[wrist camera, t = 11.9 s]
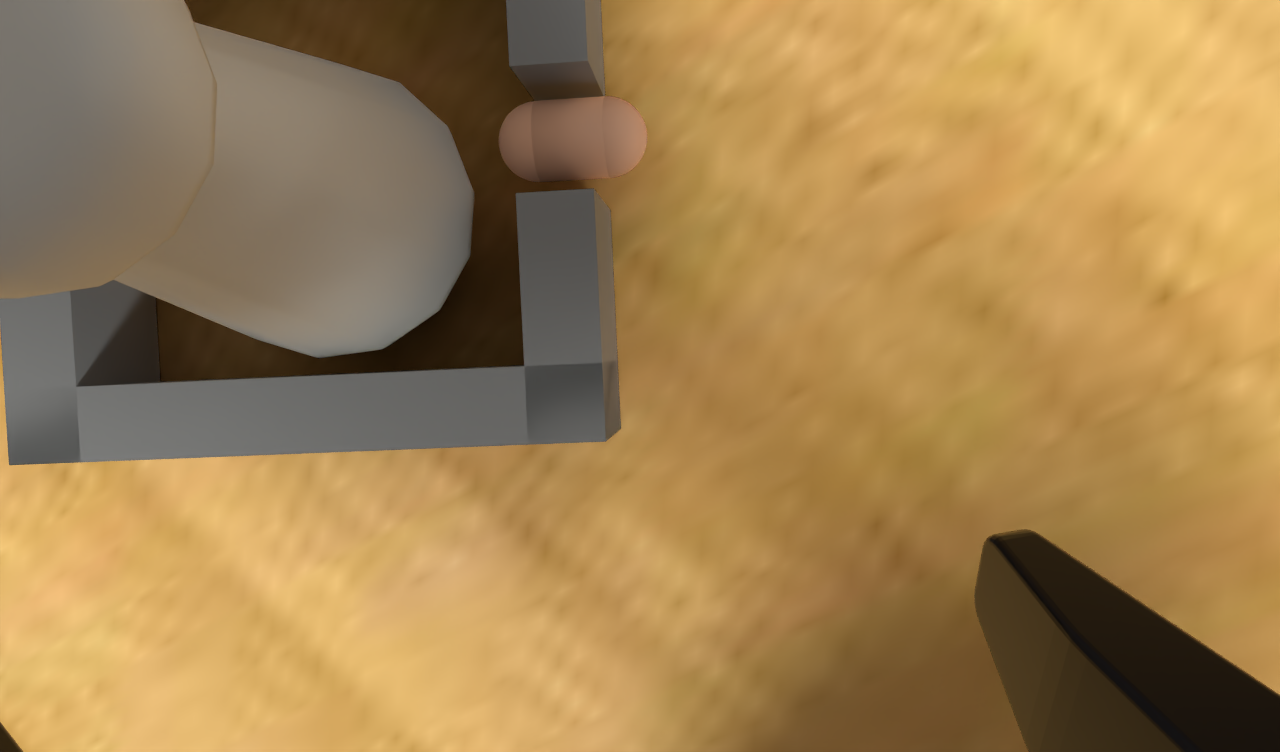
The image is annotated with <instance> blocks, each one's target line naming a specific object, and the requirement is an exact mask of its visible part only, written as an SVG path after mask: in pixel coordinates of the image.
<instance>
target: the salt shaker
mask: <svg viewBox="0 0 1280 752" xmlns="http://www.w3.org/2000/svg"><path fill="white" fill-rule="evenodd" d="M474 194H475V193H474V191H473V188H472V185H471V183H470V180H469V178H468V175H467V173H466V170H465V167H464V165H463V162H462V160H461V157H460V154H459V152H458V149H457V147H456V144H455V142H454V139H453V136H452V134H451V132H450V130H449V128H448V126H447V125H446V124H445V123H444V122H442V121H441V120H440V119H439V118H438V117H437V116H436V115H435V114H434V113H433V112H431V111H430V110H429V109H428V108H427V107H426V106H425V105H424V104H423V103H422V102H421V101H419V100H418V99H417V98H416V97H415V96H414V95H413V94H412V93H411V92H410V91H408V90H407V89H406V88H405V87H404V86H403V85H402V84H401V83H400V82H397V81H394V80H391V79H387V78H384V77H381V76H378V75H375V74H371V73H368V72H365V71H362V70H358V69H355V68H352V67H349V66H346V65H342V64H339V63H336V62H332V61H329V60H325V59H322V58H318V57H315V56H311V55H308V54H304V53H301V52H297V51H294V50H290V49H287V48H283V47H280V46H276V45H273V44H269V43H266V42H262V41H259V40H255V39H252V38H248V37H245V36H241V35H238V34H234V33H231V32H227V31H224V30H220V29H217V28H213V27H210V26H206V25H202V24H199V23H195V22H194V21H193V19H192V16H191V13H190V11H189V9H188V7H187V5H186V3H185V1H184V0H0V299H5V298H25V297H32V296H39V295H45V294H52V293H59V292H65V291H72V290H79V289H85V288H92V287H98V286H101V285H103V284H105V283H107V282H110V281H112V280H115V281H118V282H120V283H123V284H125V285H127V286H130V287H132V288H135V289H137V290H139V291H142V292H144V293H147V294H149V295H151V296H154V297H156V298H159V299H161V300H163V301H166V302H168V303H171V304H173V305H175V306H178V307H180V308H183V309H185V310H187V311H190V312H192V313H195V314H197V315H199V316H202V317H204V318H207V319H209V320H211V321H214V322H216V323H218V324H221V325H223V326H226V327H228V328H230V329H233V330H235V331H238V332H240V333H242V334H245V335H247V336H250V337H252V338H254V339H257V340H260V341H263V342H266V343H270V344H273V345H276V346H280V347H283V348H286V349H290V350H293V351H296V352H299V353H303V354H306V355H309V356H313V357H316V358H326V357H333V356H340V355H347V354H353V353H360V352H367V351H374V350H381V349H384V348H386V347H388V346H390V345H391V344H393V343H394V342H396V341H397V340H398V339H400V338H401V337H403V336H404V335H405V334H407V333H408V332H410V331H411V330H413V329H414V328H415V327H417V326H418V325H420V324H421V323H422V322H424V321H425V320H427V319H428V318H430V317H431V316H432V315H434V314H435V313H437V312H438V311H439V310H440V309H441V307H442V306H443V304H444V302H445V300H446V298H447V297H448V295H449V293H450V291H451V290H452V288H453V286H454V284H455V282H456V281H457V279H458V277H459V275H460V273H461V272H462V270H463V268H464V266H465V265H466V263H467V261H468V259H469V257H470V253H471V238H472V224H473V209H474Z"/></svg>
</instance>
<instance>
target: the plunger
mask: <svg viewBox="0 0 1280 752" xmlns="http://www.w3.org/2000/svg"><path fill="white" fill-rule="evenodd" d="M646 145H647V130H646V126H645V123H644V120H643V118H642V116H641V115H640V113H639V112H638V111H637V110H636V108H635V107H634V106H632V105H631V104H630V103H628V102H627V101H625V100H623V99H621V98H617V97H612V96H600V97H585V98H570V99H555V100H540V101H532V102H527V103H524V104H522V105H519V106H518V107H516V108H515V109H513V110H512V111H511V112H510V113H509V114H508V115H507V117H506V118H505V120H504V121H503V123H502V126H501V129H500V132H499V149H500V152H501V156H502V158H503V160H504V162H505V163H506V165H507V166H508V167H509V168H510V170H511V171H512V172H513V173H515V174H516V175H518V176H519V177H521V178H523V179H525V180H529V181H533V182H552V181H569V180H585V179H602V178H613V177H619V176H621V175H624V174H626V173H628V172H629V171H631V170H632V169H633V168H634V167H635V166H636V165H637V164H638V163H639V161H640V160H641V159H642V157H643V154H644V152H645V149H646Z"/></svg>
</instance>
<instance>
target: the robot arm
mask: <svg viewBox="0 0 1280 752" xmlns="http://www.w3.org/2000/svg"><path fill="white" fill-rule="evenodd" d="M974 598H975V608H976V612H977V616H978V619H979V622H980V625H981V627H982V630H983V633H984V635H985V638H986V641H987V643H988V646H989V649H990V651H991V654H992V657H993V659H994V662H995V665H996V667H997V670H998V673H999V675H1000V678H1001V680H1002V683H1003V686H1004V688H1005V691H1006V694H1007V696H1008V699H1009V702H1010V704H1011V707H1012V710H1013V712H1014V715H1015V718H1016V720H1017V723H1018V726H1019V728H1020V731H1021V734H1022V736H1023V739H1024V741H1025V744H1026V746H1027V749H1028V751H1029V752H1280V695H1279V694H1278V693H1276V692H1275V691H1273V690H1272V689H1270V688H1269V687H1267V686H1266V685H1264V684H1263V683H1261V682H1260V681H1258V680H1257V679H1255V678H1254V677H1252V676H1251V675H1249V674H1248V673H1246V672H1245V671H1243V670H1242V669H1240V668H1239V667H1237V666H1236V665H1234V664H1233V663H1231V662H1230V661H1228V660H1227V659H1225V658H1224V657H1222V656H1221V655H1219V654H1218V653H1216V652H1215V651H1213V650H1212V649H1210V648H1209V647H1207V646H1206V645H1204V644H1203V643H1201V642H1200V641H1198V640H1197V639H1195V638H1194V637H1192V636H1191V635H1189V634H1188V633H1186V632H1185V631H1183V630H1182V629H1180V628H1179V627H1177V626H1176V625H1174V624H1173V623H1171V622H1170V621H1168V620H1167V619H1165V618H1164V617H1162V616H1161V615H1159V614H1158V613H1156V612H1155V611H1153V610H1152V609H1150V608H1149V607H1147V606H1146V605H1144V604H1143V603H1141V602H1140V601H1139V600H1137V599H1136V598H1134V597H1133V596H1131V595H1130V594H1128V593H1127V592H1125V591H1124V590H1122V589H1121V588H1119V587H1118V586H1116V585H1115V584H1113V583H1112V582H1110V581H1109V580H1107V579H1106V578H1104V577H1103V576H1101V575H1100V574H1098V573H1097V572H1095V571H1094V570H1092V569H1091V568H1089V567H1088V566H1086V565H1085V564H1083V563H1082V562H1080V561H1079V560H1077V559H1076V558H1074V557H1073V556H1071V555H1070V554H1068V553H1067V552H1065V551H1064V550H1062V549H1061V548H1059V547H1058V546H1056V545H1055V544H1053V543H1052V542H1050V541H1049V540H1047V539H1046V538H1044V537H1043V536H1041V535H1040V534H1038V533H1036V532H1033V531H1031V530H1017V531H1011V532H1005V533H999V534H994V535H991V536H989V537H988V538H987V539H986V541H985V542H984V545H983V549H982V554H981V560H980V565H979V571H978V576H977V582H976V587H975V595H974ZM0 752H23V751H22V749H21V748H20V747H19V746H18V744H17V743H16V742H15V740H14V739H13V738H12V737H11V735H10V734H9V733H8V731H7V730H6V729H5V728H4V726H3V725H2V724H1V722H0Z"/></svg>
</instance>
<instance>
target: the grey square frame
mask: <svg viewBox="0 0 1280 752" xmlns="http://www.w3.org/2000/svg"><path fill="white" fill-rule="evenodd" d="M506 9H507V29H508V49H509V66H510V68H511V69H512V71H513V72H514V73H515V75H516V76H517V77H518V79H519V80H520V81H521V83H522V84H523V86H524V87H525V88H526V90H527V91H528V92H529V94H530V95H531V96H532V98H533V99H534V101H540V100H555V99H570V98H585V97H600V96H605V82H604V60H603V39H602V18H601V0H506ZM516 210H517V231H518V251H519V271H520V291H521V311H522V331H523V352H524V365H511V366H489V367H467V368H446V369H424V370H402V371H380V372H359V373H337V374H315V375H293V376H272V377H250V378H228V379H206V380H185V381H163V382H160V365H159V348H158V331H157V314H156V297H154V296H151V295H149V294H147V293H144V292H142V291H139V290H137V289H135V288H132V287H130V286H127V285H125V284H123V283H120V282H118V281H115V280H112V281H110V282H107V283H105V284H103V285H101V286H98V287H92V288H85V289H79V290H72V291H65V292H59V293H52V294H45V295H39V296H32V297H25V298H5V299H0V329H1V345H2V360H3V376H4V392H5V408H6V424H7V440H8V456H9V465H24V464H49V463H74V462H99V461H125V460H150V459H175V458H200V457H225V456H251V455H276V454H301V453H326V452H352V451H377V450H402V449H427V448H452V447H478V446H503V445H528V444H553V443H579V442H604V441H607V440H608V439H609V438H610V437H612V436H613V435H614V434H615V433H616V432H617V431H619V430H620V429H621V421H620V400H619V378H618V357H617V336H616V315H615V294H614V272H613V251H612V230H611V210H610V209H609V208H608V206H607V205H606V204H605V202H604V201H603V200H602V198H601V197H600V196H599V195H598V193H597V192H596V191H595V189H594V188H593V189H576V190H560V191H543V192H526V193H516Z"/></svg>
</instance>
